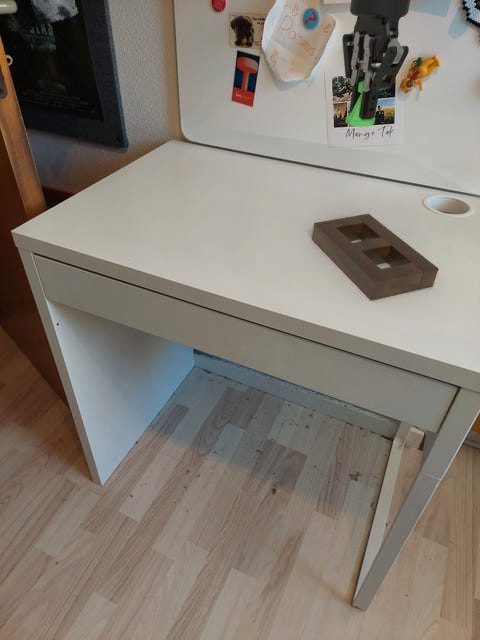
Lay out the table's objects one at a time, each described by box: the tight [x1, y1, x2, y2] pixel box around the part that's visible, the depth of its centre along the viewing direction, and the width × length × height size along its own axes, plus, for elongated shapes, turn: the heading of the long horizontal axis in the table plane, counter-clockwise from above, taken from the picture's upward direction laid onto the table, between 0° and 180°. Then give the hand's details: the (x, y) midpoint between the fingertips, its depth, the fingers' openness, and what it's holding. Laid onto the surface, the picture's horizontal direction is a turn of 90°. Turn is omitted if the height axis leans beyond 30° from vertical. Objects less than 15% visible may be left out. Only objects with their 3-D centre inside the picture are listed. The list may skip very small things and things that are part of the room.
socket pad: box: [311, 213, 439, 302], centre depth 67 cm, size 10×18×3 cm, turn 20°
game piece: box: [344, 80, 376, 128], centre depth 67 cm, size 4×4×6 cm
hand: (361, 115), depth 68 cm, fingers closed on game piece, 2 cm apart
